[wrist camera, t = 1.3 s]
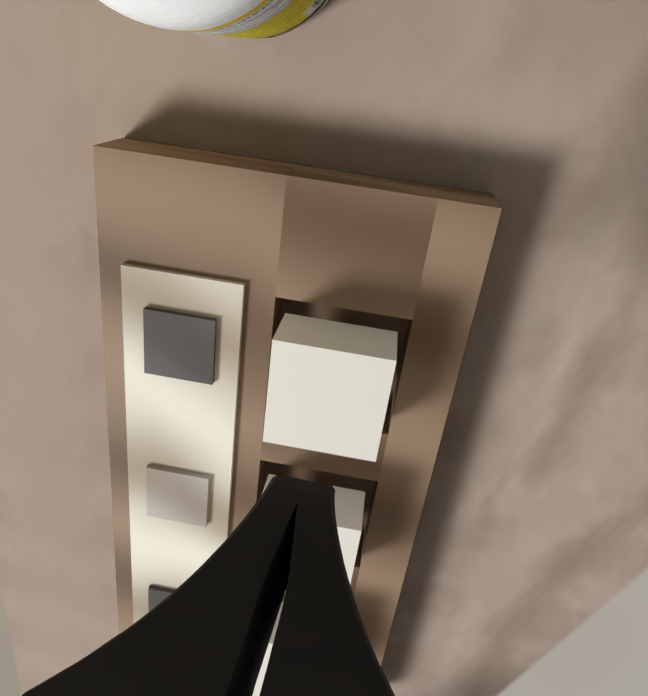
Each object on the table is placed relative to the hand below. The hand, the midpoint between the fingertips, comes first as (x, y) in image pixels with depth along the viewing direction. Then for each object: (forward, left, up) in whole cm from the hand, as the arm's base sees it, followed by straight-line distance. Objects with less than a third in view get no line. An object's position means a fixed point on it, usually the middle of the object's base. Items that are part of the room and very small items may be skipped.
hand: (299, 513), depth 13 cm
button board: (-7, +2, -9) cm, 11 cm away
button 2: (0, 0, -7) cm, 7 cm away
